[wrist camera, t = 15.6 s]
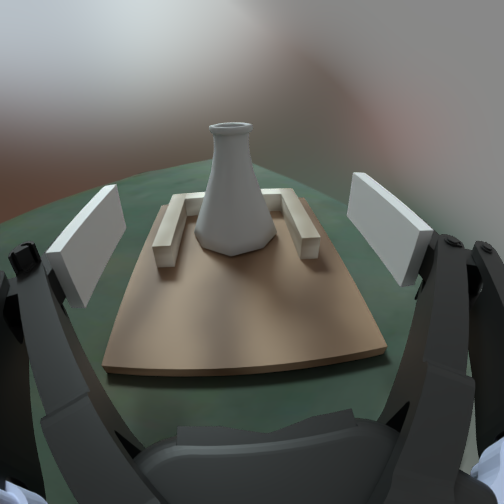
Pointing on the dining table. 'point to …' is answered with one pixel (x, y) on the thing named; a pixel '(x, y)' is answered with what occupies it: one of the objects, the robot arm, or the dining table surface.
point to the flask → (233, 197)
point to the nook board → (239, 300)
